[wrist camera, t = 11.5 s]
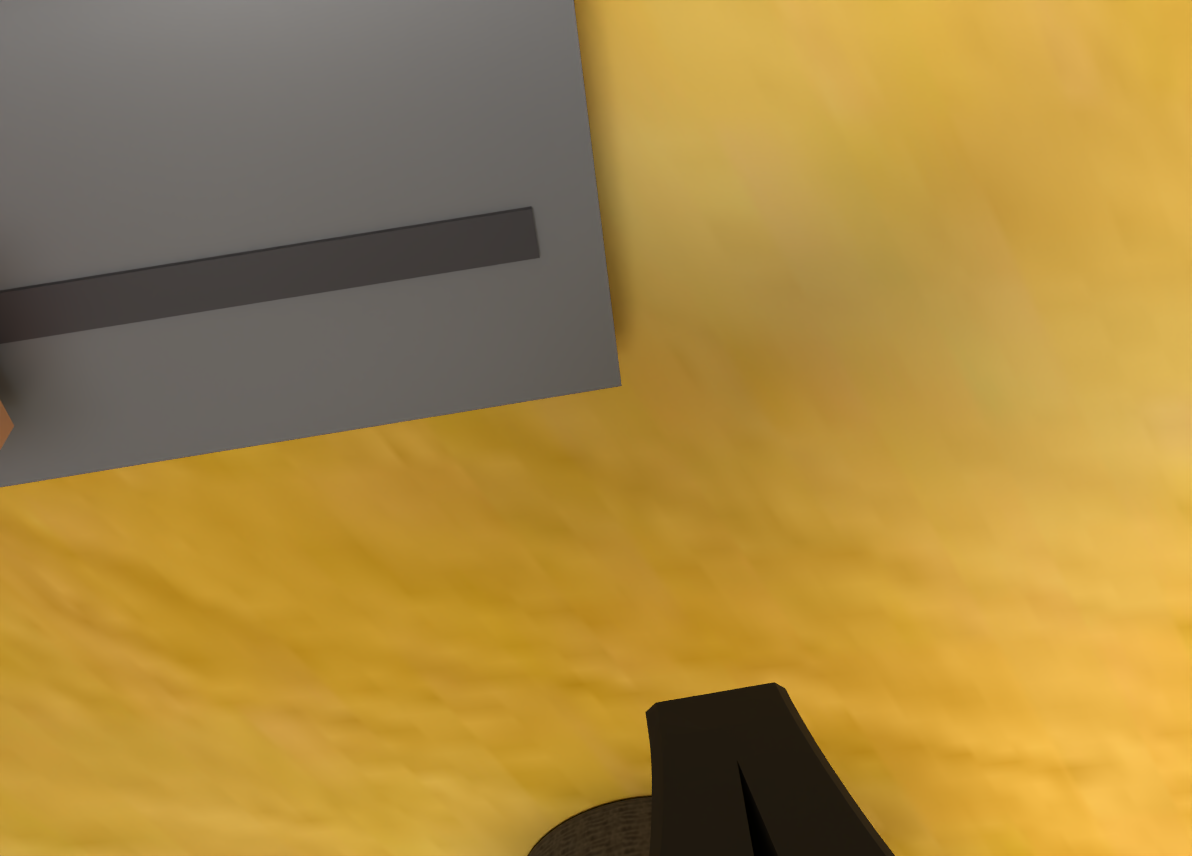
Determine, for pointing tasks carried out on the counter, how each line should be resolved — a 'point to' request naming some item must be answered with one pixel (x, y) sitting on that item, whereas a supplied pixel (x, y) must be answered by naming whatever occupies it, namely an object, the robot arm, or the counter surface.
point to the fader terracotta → (4, 425)
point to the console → (288, 222)
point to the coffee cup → (602, 832)
